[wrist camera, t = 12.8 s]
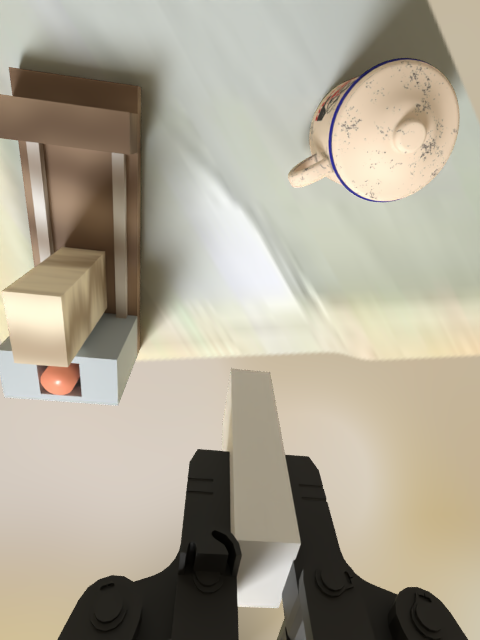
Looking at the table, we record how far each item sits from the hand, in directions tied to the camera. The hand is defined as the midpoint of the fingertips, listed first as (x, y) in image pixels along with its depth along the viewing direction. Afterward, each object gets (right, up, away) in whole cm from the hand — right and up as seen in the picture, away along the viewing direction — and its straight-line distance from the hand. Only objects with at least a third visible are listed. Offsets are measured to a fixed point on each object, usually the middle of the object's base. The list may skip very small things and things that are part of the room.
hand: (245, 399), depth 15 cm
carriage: (-16, +7, +23) cm, 29 cm away
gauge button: (-16, -1, +22) cm, 27 cm away
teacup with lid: (+9, +19, +20) cm, 29 cm away
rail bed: (-15, +12, +23) cm, 30 cm away
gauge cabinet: (-16, +2, +27) cm, 32 cm away
